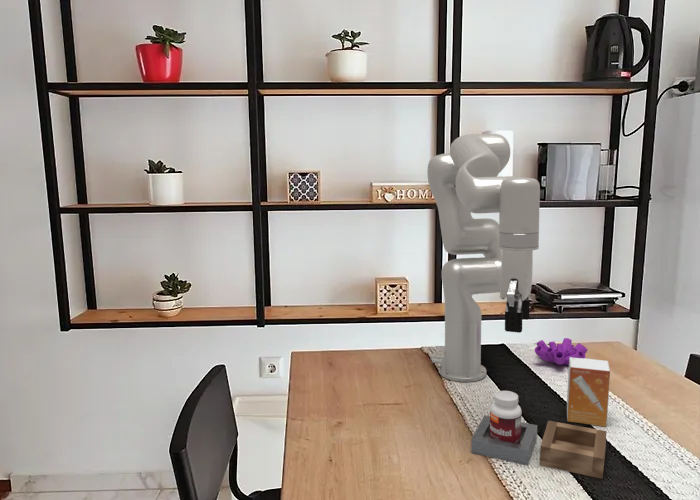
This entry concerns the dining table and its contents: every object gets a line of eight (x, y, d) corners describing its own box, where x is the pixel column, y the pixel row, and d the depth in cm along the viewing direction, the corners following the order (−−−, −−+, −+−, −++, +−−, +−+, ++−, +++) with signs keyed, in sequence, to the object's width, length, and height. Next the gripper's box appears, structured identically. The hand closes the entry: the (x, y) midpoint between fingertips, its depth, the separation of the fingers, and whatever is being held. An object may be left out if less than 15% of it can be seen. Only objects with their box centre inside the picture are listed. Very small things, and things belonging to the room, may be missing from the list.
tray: (539, 465, 107) (540, 445, 106) (547, 438, 116) (548, 420, 115) (602, 478, 102) (603, 458, 101) (605, 449, 111) (606, 431, 111)
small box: (567, 422, 123) (569, 366, 120) (566, 409, 129) (568, 356, 126) (607, 427, 120) (610, 370, 118) (604, 414, 126) (607, 359, 124)
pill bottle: (483, 447, 114) (484, 396, 112) (497, 434, 118) (498, 386, 116) (512, 457, 110) (514, 405, 108) (525, 444, 114) (527, 393, 112)
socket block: (471, 452, 111) (471, 438, 111) (484, 428, 121) (484, 415, 121) (528, 465, 107) (528, 450, 106) (536, 438, 116) (537, 425, 116)
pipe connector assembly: (587, 375, 156) (600, 356, 149) (536, 379, 154) (547, 360, 147) (571, 341, 163) (583, 322, 156) (522, 344, 161) (532, 325, 154)
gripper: (507, 235, 119) (506, 312, 122) (490, 246, 104) (489, 335, 106) (543, 236, 116) (542, 315, 118) (532, 247, 100) (530, 339, 103)
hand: (517, 324), depth 112 cm, fingers open, 9 cm apart
